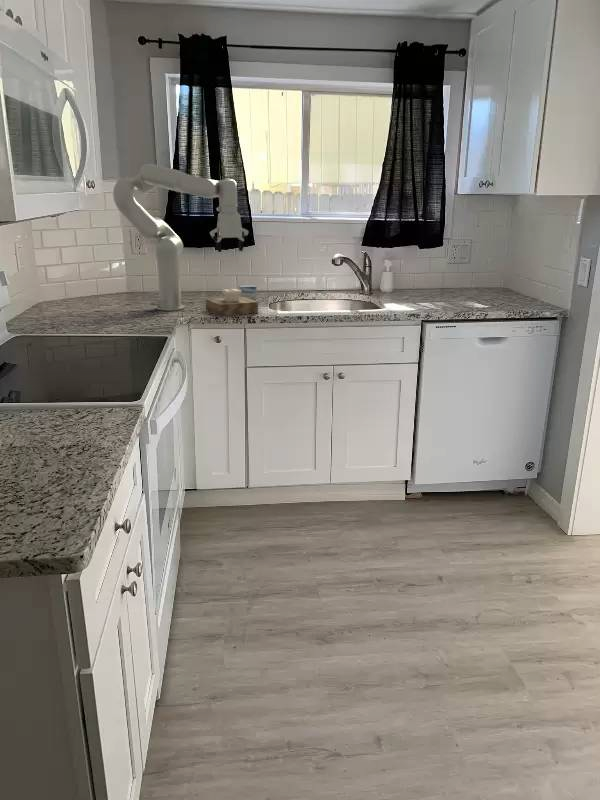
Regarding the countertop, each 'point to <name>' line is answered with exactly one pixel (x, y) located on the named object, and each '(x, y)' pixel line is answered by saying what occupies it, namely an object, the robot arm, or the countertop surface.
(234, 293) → the button
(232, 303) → the wooden block
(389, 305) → the countertop surface
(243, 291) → the medicine box
